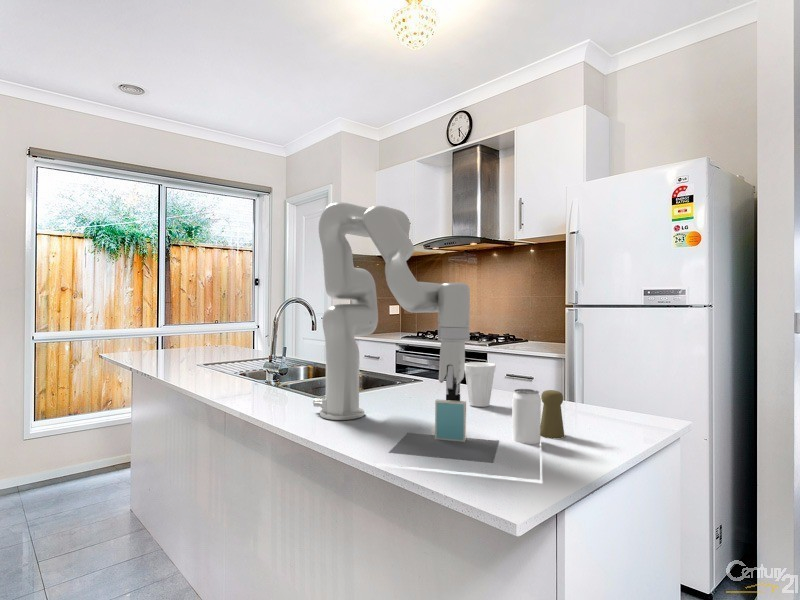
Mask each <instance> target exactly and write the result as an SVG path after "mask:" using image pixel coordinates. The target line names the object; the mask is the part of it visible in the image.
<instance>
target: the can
mask: <svg viewBox="0 0 800 600" xmlns="http://www.w3.org/2000/svg"><path fill="white" fill-rule="evenodd" d="M539 393H540V391H539V390H536V389H531V388H517V389H514V392H513V394H512V400H511V401H512V402H511V404H512V405H511V407H512V408H511V416H512V417H511V439H512V441H514V442H517V443H520V444H526V445H528V444H531V445H533V444H538V443H539V444H540V443H541V436H540V425H541V418H542V413H541V412H542V411H541V407H542V404H541V403H542V399H541V396H540V395H539Z"/></svg>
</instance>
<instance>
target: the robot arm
mask: <svg viewBox="0 0 800 600" xmlns="http://www.w3.org/2000/svg"><path fill="white" fill-rule="evenodd" d="M317 229H318V237H319V241H320V246H321V250H322V251H321V252H322V262H323V263H322V264H323V276H324V277H323V278H324V285H325V292H326V294H327V295H328V297H330V298H331V299H334V300H342V301H343V300H346V301H348V300H349V301H350V303H342V304H341V303H339V304H334V305H332V306H330V307H328V308H327V309H326V310H325V311H324V314H323V316H322V329H323V330H322V331H323V334H324V342H325V343H324V344H325V398H323V399H321V398H314V399H313V402H312V403H313V407H314V408H315V407H317V408H319V407H320V408H321V410H320V411H319V416H320V417H321V418H323V419H327V420H332V421H333V420H334V421H346V420H347V421H348V420H355V419H359V418H362V417H363V416H365V410H364V409H363V408H361V407H360V350H359V346H358V344H357V341H356V338H357V337H364V336H365V337H366V336H369V335H371V334H374V332H375V331H376V329H377V327H378V324H379V311H378V310H379V309H378V299H377V287H376V282H375V279H374V276H373V275H372V274H371V272H369V271H368V270H367V269H365V268H361V267H355V266H354V260H353V259H354V258H353V250H352V247H351V245H350V243H349V241H348V240H347V238H346V235H352V236H357V237H363V238H370V239H371V240H372V243H373V244H374V245H375V248H376V249H377V251H378V252H379V254H380V256H381V257H382V258H383V260H384V262H385V267H384V274H385V281H386V284H387V288H388V289H389V290H390V292H391V294H392V295H393V297H394V298H395V300H396V302H397V303H398V304H399V306H400V307H401V308H402V309H403V310H405V311H407V312H409V313H413V314H417V313H419V314H420V313H422V314H423V313H425V314H426V313H428V314H429V313H437V325H438V326H437V341H440V342H441V343H440V350H439V365H438V367H439V368H438V369H439V370H438V382H439V383H440V384H442V383H444V382H445V385H446V387H445V388H446V389H445V391H446V394H445V400H453V401H461V382H462V381H463V380H464V378H465V371H464V370H465V363H466V362H465V361H466V350H465V349H466V345H465V344H466V343H465V342H469V341H470V331H471V330H470V329H471V328H470V315H471V312H470V310H471V309H470V308H471V306H470V305H471V302H470V301H471V299H470V297H471V294H470V293H471V291H470V290H471V289H470V286H469V285H468V284H467V283H463V282H444V283H443V282H442V283H440V282H439V283H438V282H427V281H417V279H416V277H415V276H414V275H413V273H412V271H411V270H410V268H409V265H408V262H407V261H409V259H410V258H411V257H412V256H413V254H414V252H415V246H414V243H413V242H412V241H411V239H410V237H409V236H408V235H409V233H410V229H411V222H410V219H409V217H408V215H407V214H406V213H405V212H404V211H402V210H400V209H397V208H393V207H389V206H385V205H374V206H371V207H366V206H361V205H357V204H353V203H348V202H333V203H330V204H328V205H327V206H326V207H325V208H324V210H323V211H322V212H321V214H320V217H319V221H318V228H317ZM355 337H356V338H355Z"/></svg>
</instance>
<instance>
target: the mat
mask: <svg viewBox="0 0 800 600" xmlns="http://www.w3.org/2000/svg"><path fill="white" fill-rule="evenodd" d="M499 443H500V440H497V439H482V438H475V437H474V438H471V437H466V441H465V442H461V441H450V440H439V439H435V434H424V433H414V432H407V433H406V434H405V435H404V436H403V437H402V438H401V439H400V440H399V441H398V442H397V443H396V444H395V445H394V446H393V447H392V448H391V449H390V451H388V453H389V454H396V455H398V454H399V455H409V456H419V457H426V458H427V457H428V458H438V459H439V458H440V459H447V460H449V459H450V460H459V461H460V460H461V461H469V462H477V463H491V464H493V463H494V461H495V458H496V453H497V450H498V446H499Z"/></svg>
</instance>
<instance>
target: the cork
mask: <svg viewBox="0 0 800 600" xmlns="http://www.w3.org/2000/svg"><path fill="white" fill-rule="evenodd" d="M540 398H541V403H543V406H542V411H541V412H542V413H541V424H540V437H543V438H547V439H553V438H559V439H563V438H562V437H564V436H565V430H564V421H563V413H562V406H561V405H562V404H563V402H564V395H563V393H562V392H561V391H560V390H559V391H558V390H554V389H553V390H552V389H548V390H544V391H542V393H541V396H540ZM564 438H565V437H564Z"/></svg>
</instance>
